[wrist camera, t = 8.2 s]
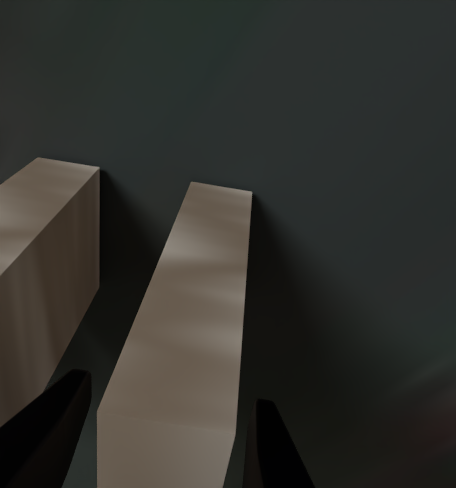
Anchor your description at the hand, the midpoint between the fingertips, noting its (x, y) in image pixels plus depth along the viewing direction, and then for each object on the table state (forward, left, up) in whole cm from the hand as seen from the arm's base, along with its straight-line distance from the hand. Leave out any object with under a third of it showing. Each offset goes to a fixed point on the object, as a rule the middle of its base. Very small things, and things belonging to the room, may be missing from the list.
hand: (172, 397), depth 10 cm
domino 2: (0, 0, -6) cm, 6 cm away
